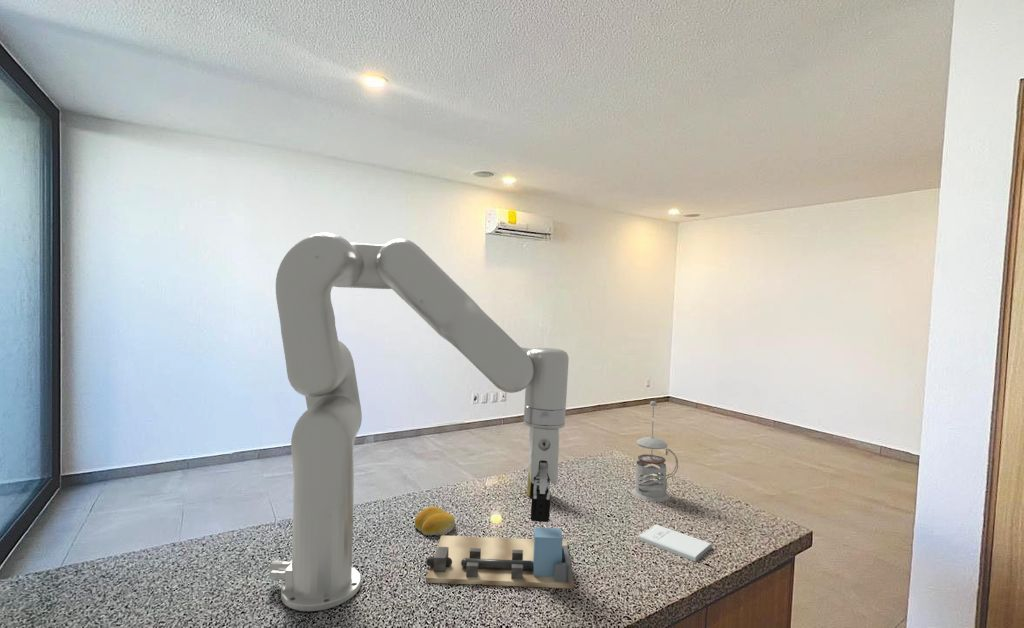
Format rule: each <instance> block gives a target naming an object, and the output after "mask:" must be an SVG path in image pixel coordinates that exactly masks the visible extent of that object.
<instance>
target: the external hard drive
mask: <svg viewBox="0 0 1024 628" xmlns="http://www.w3.org/2000/svg"><path fill="white" fill-rule="evenodd" d="M638 541H641V542H643V543H646V544H649V545H651V546H653V547H656V548H659V549H660V550H663V551H667V552H670V553H672V554H675V555H677V556H679V557H682V558H683V559H684V558H685V559H687V560H690V561H692V562H697V561H698V560H699V559H701V558H702V557H703V556H704V555H705V554H707V552H708V551H710V550H711V549H712V543H710V542H708V541H704V540H702V539H699V538H695V537H694V536H690V535H688V534H685V533H682V532H679V531H676V530H673V529H671V528H667V527H664V526H662V525H659V524H653V526H650V527H649V528H648V529H646V530H645V531H643V532H642V533H640V534H639V535H638Z"/></svg>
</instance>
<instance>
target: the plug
mask: <svg viewBox="0 0 1024 628" xmlns="http://www.w3.org/2000/svg"><path fill="white" fill-rule="evenodd" d="M533 539H534V547H533V561H527V560H501V559H475V558H464V559H462V561H461V565H462V567H463V568H466V566H467V562H473V563H478V568H480V569H506V570H512V564H521V565H523V570H533V575H534V576H547V577H554V566H555V563H562V542H563V532H562V528H561V527H543V526H542V527H541V526H539V527H538V526H534V527H533Z"/></svg>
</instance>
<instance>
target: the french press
mask: <svg viewBox="0 0 1024 628" xmlns="http://www.w3.org/2000/svg"><path fill="white" fill-rule="evenodd" d="M649 406H651V407H652V417H654V416H655V415H654V412H655V411H654V408H655V407H657V406H658V404H657V401H653V400H651V401H650V403H649ZM651 434H652V435H651V436H646V437H641V438H639V439H637V440H636V444H637V445H638V446H639V447H641V448H643V449H649V450H664V449H665V455H666V456H668V455H669V452H670V453H671V454H672V455H673V456H674V458H675V466H674V468H673V471H672V472H670V473H669V474H667V465H666V463H665V462H666V459H665V457H663V456H660V455H657V454H653V451H651V452H650V453H651V454H649V453H647V454H646V453H645V454H639V455H637V459H638V461H636V467H635V468H636V469H635V470H636V471H635V472H636V474H635V488H633V490H632V491H631V494H632V495H633V496H634V497H635V498H637V499H640V500H643V501H645V502H646V501H648V502H651V503H653V502H654V503H655V502H656V503H657V502H660V503H661V502H665V501H668V500H669V499H670V495H669V494H668V492H667V489H668V488H667V485H668V479H669V478H673V476H675V474H676V473H677V471H678V469H679V460H678V457H677V455H676V454H675V452H673V451H672V450H671V449H670V448H668V446H669V444H668V443H667V442H666V441H665V440H663V439H661V438H659V437H655V436H654V422H652V429H651ZM648 465H649V466H648ZM654 465H656V466H658V467H656V466H654ZM659 467H660V468H659ZM653 474H654V475H653ZM644 476H645V477H644ZM654 479H655V480H654Z"/></svg>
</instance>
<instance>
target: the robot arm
mask: <svg viewBox="0 0 1024 628" xmlns="http://www.w3.org/2000/svg"><path fill="white" fill-rule="evenodd" d="M333 287H336V288H351V289H352V288H353V289H356V288H357V289H375V290H376V289H377V290H393V292H395V294H396V295H398V297H400V298H401V299H402V300H403V302H405V303H406V304H407V305H408V306H409V307H410V308H411V309H412V310H413V311H415V313H417V315H419V317H421V318H422V319H423V321H425V323H427V324H428V326H430V328H432V329H433V330H434V331H435V332H436V333H437V334H438V335H439V336H440V337H441V338H443V339H444V340H445V341H447V342H448V343H450V344H451V345H452V346H453V347H454V348H455V349H456V350H457V351H458V352H460V354H462V355H463V356H464V357H465V358H466V359H467V360H468V361H469V362H470V363H471V364H472V365H473V366H474V367H475V368H476V369H477V370H478V371H479V372H481V374H482V375H483V376H485V377H486V378H487V380H489V381H490V382H491V383H492V384H493V385H494V387H496V388H497V389H499V390H500V391H502V392H503V393H504V392H505V393H510V394H511V393H518V392H521V391H523V390H525V391H524V413H523V424H524V425H525V426H528V427H529V439H528V471H529V472H530V481H531V486H530V497H529V499H531V503H530V504H531V505H530V507H531V508H530V520H531V522H539V523H549V522H550V517H551V516H550V511H551V496H550V495H551V491H550V488H551V487H550V485H551V484H553V485H554V486H557V485H558V481H559V454H560V453H559V452H560V429H561V428H564V427H565V425H566V413H567V412H566V410H567V397H568V396H567V393H568V392H567V391H568V379H569V378H568V377H569V360H570V359H569V355H568V353H567V352H566V350H563V349H559V348H552V347H535V348H528V347H522V346H520V345H519V344H518V343H517V342H516V341H515V340H514V339H513V338H511V336H510V335H508V334H507V332H506V331H505V330H504V329H503V328H501V326H499V325H498V324H497V322H495V320H493V318H491V317H490V316H489V315H488V314H487V313H486V312H485V311H484V310H483V309H482V308H481V307H480V306H479V305H478V303H476V301H475V300H474V299H473V298H472V297H471V296H470V295H469V294H468V293H467V292H466V291H465V290H464V289H462V287H460V286H459V285H458V284H457V283H456V282H455V281H454V280H453V279H452V278H451V277H450V276H449V275H448V274H447V273H446V272H445V271H444V270H443V269H442V268H441V267H440V266H439V265H438V264H437V263H436V262H435V261H434V260H433V259H432V258H431V257H430V256H429V255H428V254H427V253H426V251H424V250H423V249H422V248H421V246H419V245H417V244H416V243H415V242H413V241H411V240H409V239H406V238H395V239H392V240H389V241H388V242H386V243H384V244H373V243H360V242H359V243H358V242H350V241H349V240H347V239H346V238H344V237H343V236H340V235H338V234H336V233H330V232H320V233H314V234H312V235H309V236H307V237H305V238H303V239H301V240H300V241H299V242H297V243H296V244H295V245H294V246H292V247H291V248H290V249H289V250H288V251H287V253H285V255H284V257H283V258H282V260H281V261H280V264H279V267H278V269H277V272H276V278H275V298H276V299H275V300H276V305H277V310H278V316H279V317H278V318H279V323H280V331H281V332H280V333H281V339H282V346H283V347H282V348H283V352H284V359H285V366H286V367H285V368H286V376H287V379H288V381H289V384H290V386H291V387H292V388H293V391H295V392H297V394H299V395H301V396H303V397H305V402H306V408H307V409H306V410H305V411H304V412H303V413H302V414H301V415H300V416H299V418H298V420H297V421H296V423H295V425H294V428H293V429H292V430H293V431H292V434H291V441H290V442H291V443H290V446H291V447H290V450H291V451H290V452H291V461H292V472H293V473H292V474H293V488H292V490H293V497H292V498H293V500H292V501H293V502H292V503H293V504H292V505H293V506H292V507H293V508H292V548H291V549H292V550H291V551H292V552H291V560H289V561H286V560H278V559H277V560H272V561H271V562H270V566H269V580H273V581H274V580H275V581H277V580H282V581H283V582H284V583H283V584H282V586H281V590H280V599H281V601H282V603H283V604H284V605H285V606H286V607H288V608H289V609H292V610H294V611H300V612H318V611H324V610H328V609H332V608H335V607H337V606H340V605H342V604H343V603H345V602H347V601H349V600H350V599H352V598H353V597H354V596H355V595H356V594H357V593H358V591H359V590H360V588H361V584H362V575H361V573H360V572H359V571H358V570H357V569H356V568H355V567H354V566H353V539H354V538H353V535H354V534H353V531H354V530H353V527H354V496H355V495H354V489H355V487H354V485H355V479H354V478H355V473H354V472H355V467H354V466H355V465H354V445H355V439H356V437H357V435H358V433H359V431H360V428H361V425H362V419H363V416H362V415H363V414H362V406H361V401H360V400H361V399H360V393H359V386H358V381H357V375H356V368H355V362H354V359H353V356H352V353H351V351H350V349H349V348H348V347H347V346H346V344H345V343H343V342H342V341H341V340H339V338H338V337H339V336H338V332H337V327H336V317H335V312H334V307H333V303H332V299H331V298H332V297H331V294H332V293H331V292H332V289H333Z"/></svg>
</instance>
